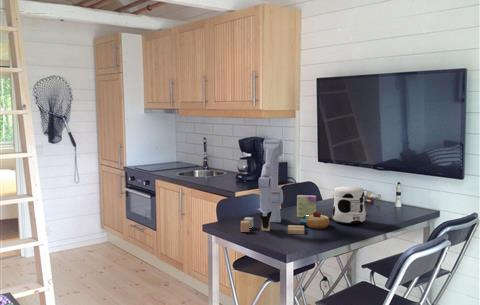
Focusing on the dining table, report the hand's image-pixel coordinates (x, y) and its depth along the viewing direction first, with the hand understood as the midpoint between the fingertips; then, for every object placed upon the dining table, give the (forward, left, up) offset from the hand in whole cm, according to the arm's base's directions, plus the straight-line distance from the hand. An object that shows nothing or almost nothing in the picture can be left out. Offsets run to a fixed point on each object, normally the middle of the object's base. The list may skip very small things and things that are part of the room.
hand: (265, 227), depth 221 cm
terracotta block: (+4, -10, -2) cm, 11 cm away
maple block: (0, 0, -1) cm, 1 cm away
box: (-30, +21, -2) cm, 37 cm away
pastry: (-9, +26, -2) cm, 27 cm away
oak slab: (+2, +15, -2) cm, 15 cm away
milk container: (-19, +43, -2) cm, 47 cm away
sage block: (-3, -9, -2) cm, 10 cm away
